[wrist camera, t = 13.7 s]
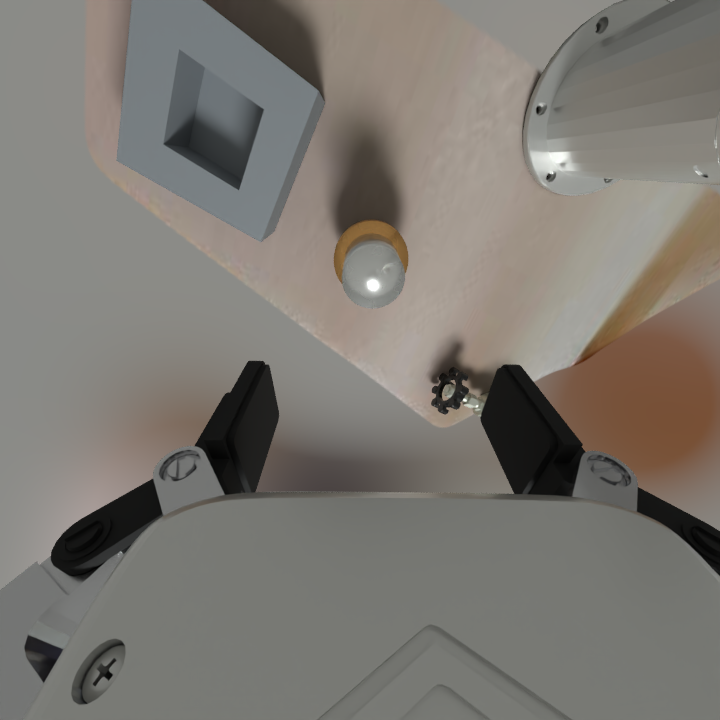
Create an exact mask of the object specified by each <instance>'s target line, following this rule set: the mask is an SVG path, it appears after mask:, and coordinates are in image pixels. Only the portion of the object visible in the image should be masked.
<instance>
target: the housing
mask: <svg viewBox="0 0 720 720" xmlns="http://www.w3.org/2000/svg"><path fill="white" fill-rule="evenodd" d="M324 105H325V102H324V100H323V98H322V96H321V94H320V92H319V91H318V90H317V89H316V88H314V87H313V86H312V85H311V84H309V83H308V82H307V81H306V80H304V79H303V78H302V77H300V76H299V75H298V74H297V73H295V72H294V71H293V70H291V69H290V68H289V67H288V66H286V65H285V64H284V63H282V62H281V61H280V60H279V59H277V58H276V57H275V56H273V55H272V54H271V53H270V52H268V51H267V50H266V49H264V48H263V47H262V46H261V45H259V44H258V43H257V42H255V41H254V40H253V39H252V38H250V37H249V36H248V35H246V34H245V33H244V32H243V31H241V30H240V29H239V28H237V27H236V26H235V25H234V24H232V23H231V22H230V21H228V20H227V19H226V18H225V17H223V16H222V15H221V14H219V13H218V12H217V11H216V10H214V9H213V8H212V7H211V6H209V5H208V4H207V3H205V2H204V1H203V0H132V4H131V15H130V25H129V36H128V46H127V57H126V67H125V77H124V88H123V98H122V109H121V119H120V130H119V140H118V151H117V161H118V162H120V163H122V164H123V165H125V166H127V167H129V168H131V169H132V170H134V171H136V172H138V173H139V174H141V175H143V176H145V177H146V178H148V179H150V180H152V181H154V182H155V183H157V184H159V185H161V186H162V187H164V188H166V189H168V190H169V191H171V192H173V193H175V194H177V195H178V196H180V197H182V198H184V199H185V200H187V201H189V202H191V203H192V204H194V205H196V206H198V207H199V208H201V209H203V210H205V211H207V212H208V213H210V214H212V215H214V216H215V217H217V218H219V219H221V220H222V221H224V222H226V223H228V224H230V225H231V226H233V227H235V228H237V229H238V230H240V231H242V232H244V233H245V234H247V235H249V236H251V237H252V238H254V239H256V240H258V241H260V242H262V241H263V240H264V239H266V238H267V237H268V236H269V235H271V234H272V233H273V232H274V231H275V228H276V226H277V223H278V221H279V218H280V216H281V213H282V210H283V208H284V205H285V203H286V200H287V198H288V195H289V193H290V190H291V188H292V185H293V183H294V180H295V178H296V175H297V173H298V170H299V168H300V165H301V163H302V160H303V158H304V155H305V153H306V150H307V148H308V145H309V143H310V140H311V138H312V135H313V133H314V130H315V127H316V125H317V122H318V120H319V117H320V115H321V112H322V110H323V107H324Z"/></svg>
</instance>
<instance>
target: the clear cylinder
mask: <svg viewBox="0 0 720 720" xmlns="http://www.w3.org/2000/svg"><path fill="white" fill-rule="evenodd" d="M407 266H408V251H407V247H406V244H405V242H404V240H403V238H402V236H401V235H400V234H399V232H398V231H397V230H396V229H395V228H394V227H392V226H391V225H390V224H388V223H386V222H383V221H380V220H373V219H370V220H363V221H360V222H357V223H355V224H353V225H352V226H350V227H349V228H348V229H347V230H346V231H345V232H344V233H343V234H342V235H341V237H340V239H339V241H338V243H337V245H336V249H335V253H334V267H335V271H336V274H337V276H338V278H339V280H340V282H341V283H342V285H343V288H344V291H345V293H346V294H347V296H348V297H349V298H350V299H351V300H352V301H353V302H354V303H356V304H357V305H359V306H362V307H365V308H380V307H383V306H386V305H388V304H390V303H391V302H392V301H394V300H395V299H396V298H397V297H398V295H399V294H400V292H401V291H402V288H403V286H404V281H405V273H406V270H407Z"/></svg>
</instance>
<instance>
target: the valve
mask: <svg viewBox="0 0 720 720" xmlns="http://www.w3.org/2000/svg"><path fill="white" fill-rule="evenodd" d="M456 373H458V374H457V376H456ZM467 379H468V375H467V374H466V373H464V372H460V371H459V370H458V369H456V368H454V367H452V368H451V369H450V370H449V375H446V374H444V373H442V374H441V375H440V376H439V380H440V381H441V382H440V384H439V386H434V387H433V388H432V393H434V394H436V398H434V399H433V400H432V402H431V405H432V406H434V407H436V408H438V411H439V412H440V413H443V414H447V413H448V411H449V410H447V409H446V407H451V408H453V409H456V410H457V409H459V407H460V402H461V401H462V403H463V405H465V406H467V407H469V408H473V412H474V414H475V415H477V416H479V417H481V413H482V410H483V407H484V405H485V402H486V399H487V396H488V394H489V392H488V393H485V394H483V395H481V396H480V397H478V398H477V397H476V396H475V395H473V394H471V393H468V392H469V389H468V388H467V387H465V386H463V385H462V380H467ZM451 380H455V382H456V386H455V385H454V384H453V383H452V382H451ZM445 385H446V387H445ZM444 387H445V388H444ZM443 389H444V391H443ZM442 391H443V392H444V395H445V396H446V397H448V398H449V399H448V400H446V401H443V399H442ZM439 404H440V406H439Z"/></svg>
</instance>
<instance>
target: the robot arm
mask: <svg viewBox="0 0 720 720" xmlns="http://www.w3.org/2000/svg"><path fill="white" fill-rule="evenodd" d="M596 27H597V30H596V31H595V29H596ZM537 107H538V108H539V111H538V113H536V108H537ZM523 150H524V156H525V161H526V164H527V166H528V169H529V171H530V174H531V175H532V176H533V178H534V179H535V180H536V182H537V183H538V184H540V185H541V186H542V187H543V188H545V189H546V190H548V191H551V192H553V193H556V194H561V195H567V196H580V195H585V194H590V193H594V192H596V191H599V190H602V189H604V188H606V187H608V186H610V185H612V184H614V183H615V182H617V181H619V180H620V179H623V180H641V181H658V182H676V183H693V184H711V185H720V0H675V1H673V2H670V1H668V0H623V1H621V2H618V3H615V4H613V5H612V6H610V7H608V8H606V9H604V10H603V11H601V12H599V13H598V14H596V15H595V16H593V17H592V18H591V19H589V20H588V21H587V22H585V23H584V24H582V25H581V26H580V27H579V28H578V29H577V30H576V31H575V32H574V33H573V34H572V35H571V36H570V37H569V38H568V39H567V40H566V41H565V42H564V43H563V44H562V45H561V47H560V48H559V49H558V51H557V52H556V53H555V54H554V56H553V57H552V58H551V60H550V61H549V63H548V65H547V66H546V68H545V70H544V71H543V73H542V74H541V76H540V78H539V80H538V82H537V85H536V87H535V89H534V91H533V94H532V96H531V99H530V102H529V106H528V109H527V112H526V116H525V123H524V129H523ZM547 175H548V178H547V179H546V177H547ZM278 418H279V410H278V406H277V401H276V396H275V391H274V386H273V381H272V376H271V371H270V367H269V365H265V363H264V362H263V361H248V363H247V364H246V366H245V368H244V369H243V371H242V373H241V375H240V377H239V378H238V381H237V382H236V384H235V385H234V387H233V389H232V391H231V392H230V393H226V394H225V395H224V397H223V398H222V400H221V402H220V403H219V405H218V407H217V408H216V410H215V412H214V413H213V415H212V417H211V419H210V420H209V422H208V424H207V425H206V427H205V429H204V431H203V433H202V434H201V436H200V438H199V439H198V441H197V443H196V444H195V446H187V447H182V448H179V449H176V450H174V451H172V452H171V453H169V454H167V455H166V456H165V457H164V458H162V459H161V460H160V462H159V463H158V464H157V465H156V467H155V470H154V472H153V479H151V480H150V481H148V482H146V483H144V484H143V485H141V486H139V487H137V488H135V489H134V490H132V491H130V492H129V493H127V494H125V495H123V496H121V497H119V498H118V499H116V500H114V501H112V502H110V503H109V504H107V505H105V506H104V507H102V508H100V509H98V510H96V511H94V512H93V513H91V514H89V515H87V516H86V517H84V518H82V519H81V520H79V521H78V522H76V523H75V524H73V525H72V526H71V527H70V528H69V529H67V530H66V531H65V532H64V533H63V534H62V536H61V537H60V538H59V539H58V540H57V542H56V543H55V546H54V547H53V549H52V552H51V556H50V557H49V558H48V559H46V560H45V561H44V562H43V563H41V564H39V563H38V562H35V563H34V564H33V565H32V566H30V567H29V568H28V569H26V570H25V571H24V572H23V573H21V574H20V575H19V576H17V577H16V578H15V579H14V580H13V581H11V582H10V583H9V584H7V585H6V586H5V587H4V588H2V589H1V590H0V720H720V531H718V530H717V529H715V528H714V527H712V526H710V525H709V524H707V523H705V522H703V521H701V520H699V519H697V518H695V517H693V516H692V515H690V514H688V513H686V512H684V511H682V510H680V509H678V508H677V507H675V506H673V505H671V504H669V503H667V502H665V501H663V500H661V499H659V498H657V497H656V496H654V495H652V494H650V493H648V492H646V491H644V490H642V489H640V488H639V487H638V482H637V478H636V476H635V475H634V473H633V472H632V470H631V469H629V468H628V466H627V465H625V464H624V463H622V462H621V461H620V460H619V459H617V458H615V457H613V456H611V455H608V454H606V453H603V452H599V451H588V452H585V451H584V450H583V448H582V443H581V442H580V440H579V439H578V438H577V437H576V435H575V434H574V433H573V432H572V430H571V429H570V428H569V427H568V425H567V424H566V423H565V421H564V420H563V419H562V418H561V416H560V415H559V414H558V413H557V411H556V410H555V409H554V408H553V406H552V405H551V404H550V402H549V401H548V400H547V399H546V397H545V396H544V395H543V394H542V392H541V391H540V390H539V388H538V387H537V386H536V385H535V383H534V382H533V381H532V380H531V378H530V377H529V376H528V374H527V373H526V372H525V371H524V369H523V368H522V367H521V366H520V365H503V366H502V367H501V368H498V370H497V372H496V374H495V377H494V380H493V383H492V385H491V388H490V391H489V394H488V396H487V399H486V402H485V405H484V407H483V410H482V413H481V423H482V425H483V427H484V429H485V432H486V434H487V436H488V438H489V440H490V442H491V445H492V447H493V449H494V451H495V453H496V455H497V457H498V459H499V462H500V464H501V466H502V468H503V470H504V472H505V475H506V477H507V479H508V481H509V483H510V485H511V488H512V490H513V492H514V494H484V493H481V494H480V493H411V492H400V493H399V492H255V491H256V489H257V485H258V482H259V479H260V476H261V473H262V469H263V466H264V463H265V460H266V457H267V454H268V451H269V448H270V444H271V441H272V438H273V435H274V432H275V428H276V426H277V423H278Z"/></svg>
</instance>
